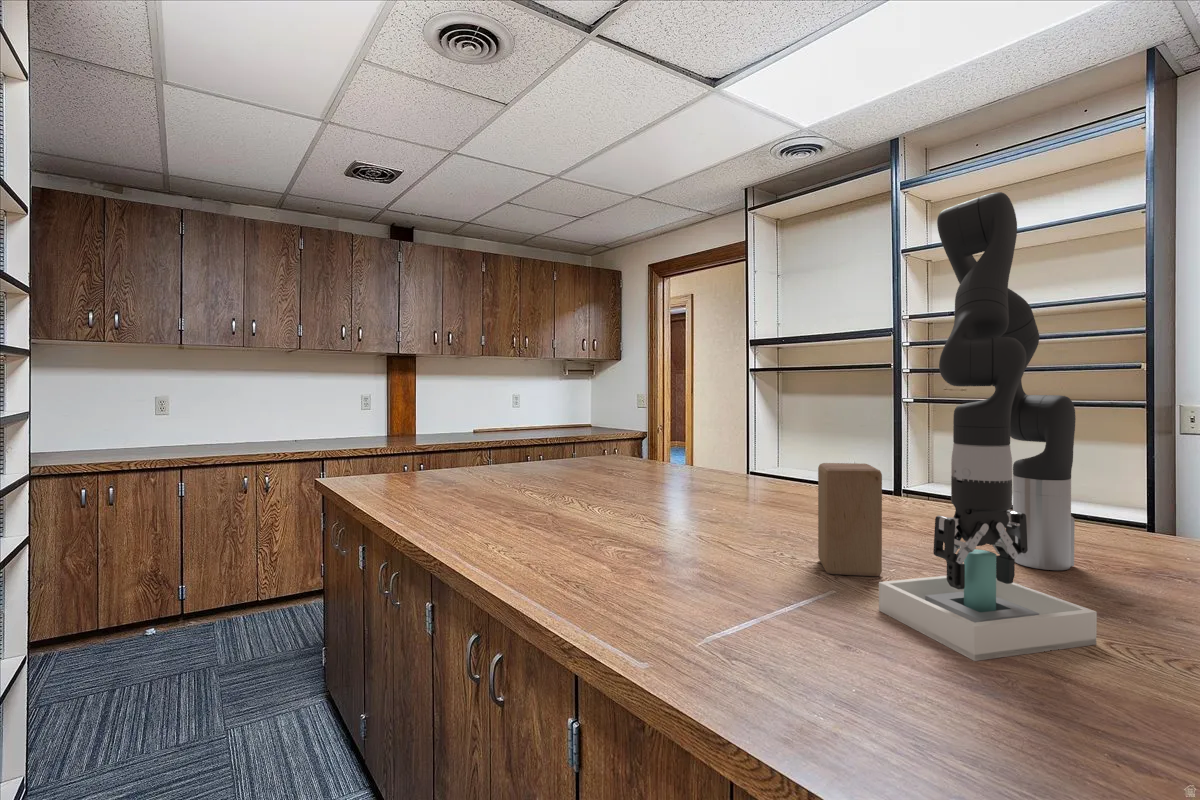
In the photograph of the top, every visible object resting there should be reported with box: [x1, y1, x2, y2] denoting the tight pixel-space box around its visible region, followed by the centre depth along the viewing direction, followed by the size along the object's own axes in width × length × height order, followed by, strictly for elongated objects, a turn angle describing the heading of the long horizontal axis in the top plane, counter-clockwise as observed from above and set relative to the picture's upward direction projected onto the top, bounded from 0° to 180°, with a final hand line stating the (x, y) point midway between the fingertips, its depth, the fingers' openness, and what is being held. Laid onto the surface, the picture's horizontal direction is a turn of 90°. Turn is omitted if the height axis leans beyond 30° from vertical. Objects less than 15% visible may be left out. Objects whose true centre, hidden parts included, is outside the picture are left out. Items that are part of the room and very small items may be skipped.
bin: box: [878, 575, 1098, 662], centre depth 88 cm, size 20×18×4 cm
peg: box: [963, 548, 997, 612], centre depth 88 cm, size 4×4×10 cm
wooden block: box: [817, 462, 883, 577], centre depth 116 cm, size 10×10×20 cm
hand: (980, 584), depth 88 cm, fingers open, 8 cm apart
